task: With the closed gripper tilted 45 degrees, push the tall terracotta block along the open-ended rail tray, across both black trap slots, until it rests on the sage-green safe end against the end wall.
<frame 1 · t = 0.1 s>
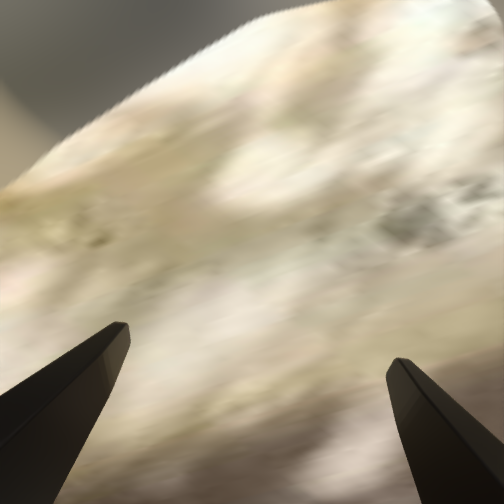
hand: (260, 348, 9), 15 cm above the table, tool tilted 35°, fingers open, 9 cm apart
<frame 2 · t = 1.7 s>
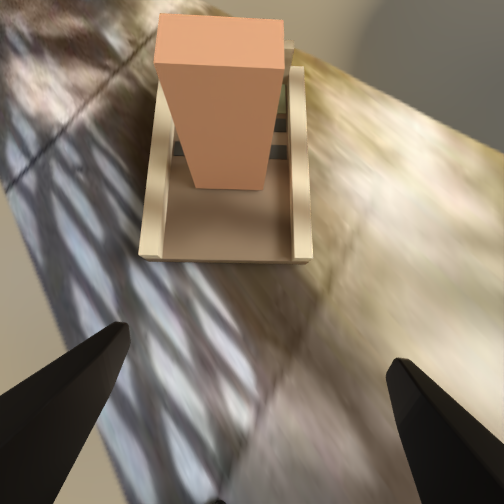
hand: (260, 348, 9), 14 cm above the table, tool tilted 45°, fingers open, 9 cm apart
open-ended rail tray: (231, 165, 26), on the table
tall block: (226, 128, 18), point 8 cm above the table, slide at 0.0 cm
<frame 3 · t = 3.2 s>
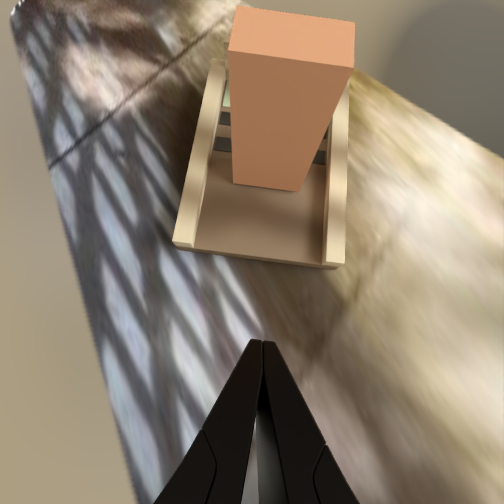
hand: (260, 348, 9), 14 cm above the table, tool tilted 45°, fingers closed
open-ended rail tray: (268, 165, 27), on the table
tall block: (276, 125, 19), point 8 cm above the table, slide at 0.0 cm
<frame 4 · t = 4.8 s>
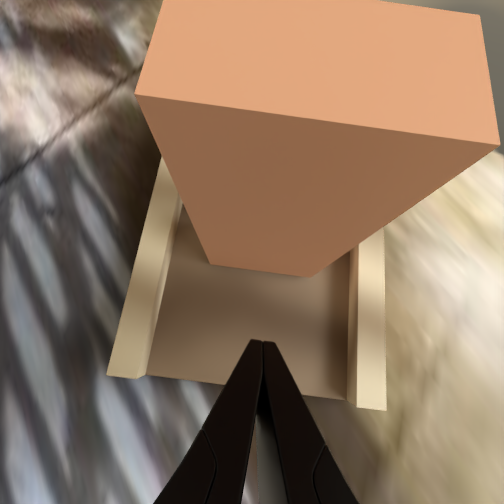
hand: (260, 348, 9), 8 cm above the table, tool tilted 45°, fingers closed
open-ended rail tray: (264, 228, 18), on the table
tall block: (276, 202, 11), point 8 cm above the table, slide at 0.0 cm
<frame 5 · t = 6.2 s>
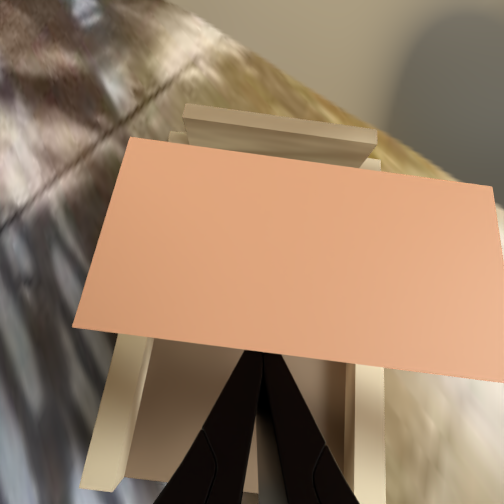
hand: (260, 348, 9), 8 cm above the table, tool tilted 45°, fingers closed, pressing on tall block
open-ended rail tray: (255, 297, 17), on the table
tall block: (266, 296, 10), point 8 cm above the table, slide at 1.0 cm, touching gripper
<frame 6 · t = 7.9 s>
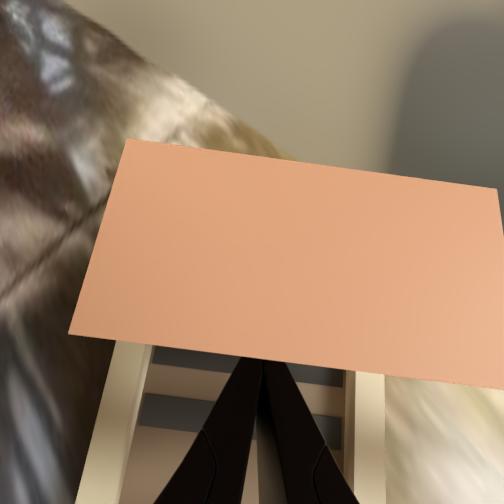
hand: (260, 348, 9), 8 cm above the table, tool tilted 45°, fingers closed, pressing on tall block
open-ended rail tray: (239, 430, 15), on the table
tall block: (266, 297, 10), point 8 cm above the table, slide at 8.6 cm, touching gripper
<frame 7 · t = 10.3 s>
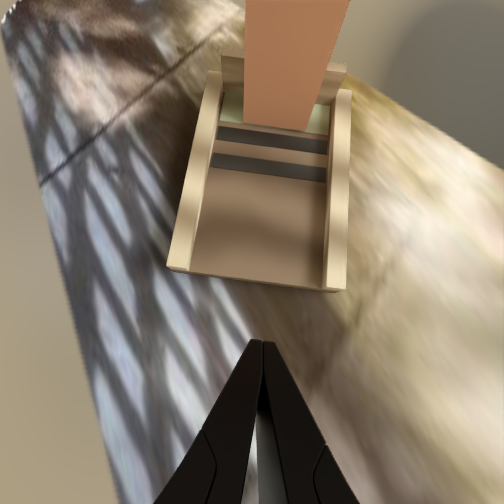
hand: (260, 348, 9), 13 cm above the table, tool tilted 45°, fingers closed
open-ended rail tray: (266, 182, 26), on the table
tall block: (286, 53, 20), point 8 cm above the table, slide at 8.4 cm
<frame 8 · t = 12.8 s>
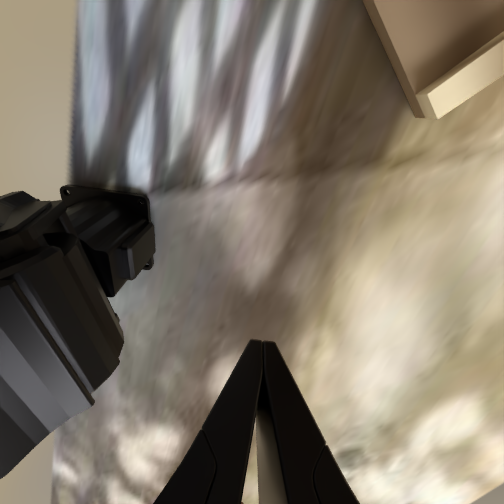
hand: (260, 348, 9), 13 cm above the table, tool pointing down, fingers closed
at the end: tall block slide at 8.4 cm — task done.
